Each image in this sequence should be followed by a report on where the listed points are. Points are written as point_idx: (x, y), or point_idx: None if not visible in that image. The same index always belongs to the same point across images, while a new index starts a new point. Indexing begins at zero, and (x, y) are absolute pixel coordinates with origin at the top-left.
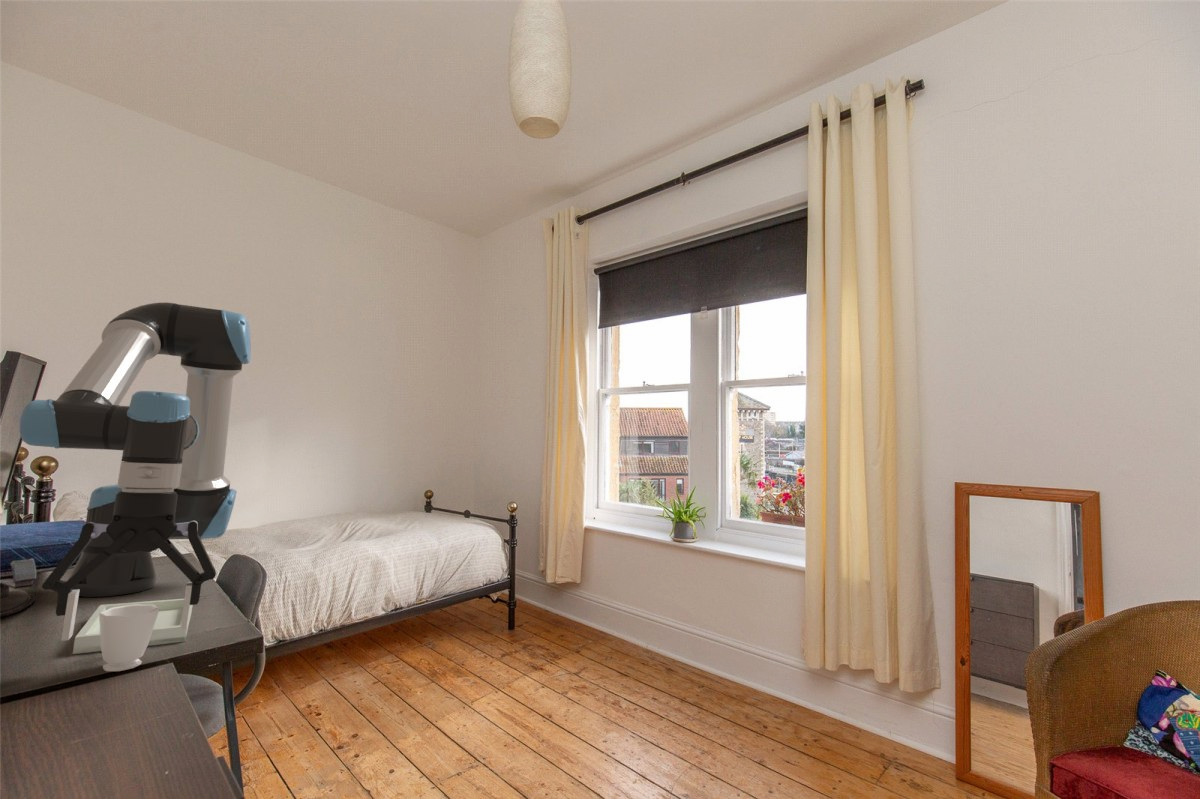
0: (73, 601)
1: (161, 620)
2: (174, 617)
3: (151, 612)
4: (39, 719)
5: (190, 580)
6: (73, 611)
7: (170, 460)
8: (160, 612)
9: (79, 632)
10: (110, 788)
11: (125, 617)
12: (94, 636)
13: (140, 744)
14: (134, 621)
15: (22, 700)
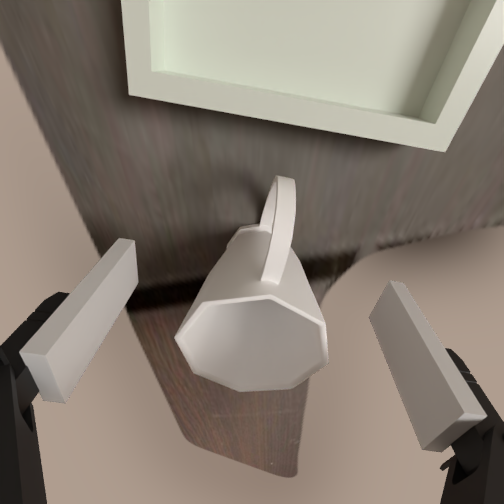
0: (81, 372)
1: None
2: None
3: (301, 379)
4: (176, 371)
5: (447, 476)
6: (101, 331)
7: None
8: None
9: (124, 18)
10: (240, 462)
11: (240, 389)
12: (183, 104)
13: (260, 437)
14: (262, 372)
15: (140, 317)
